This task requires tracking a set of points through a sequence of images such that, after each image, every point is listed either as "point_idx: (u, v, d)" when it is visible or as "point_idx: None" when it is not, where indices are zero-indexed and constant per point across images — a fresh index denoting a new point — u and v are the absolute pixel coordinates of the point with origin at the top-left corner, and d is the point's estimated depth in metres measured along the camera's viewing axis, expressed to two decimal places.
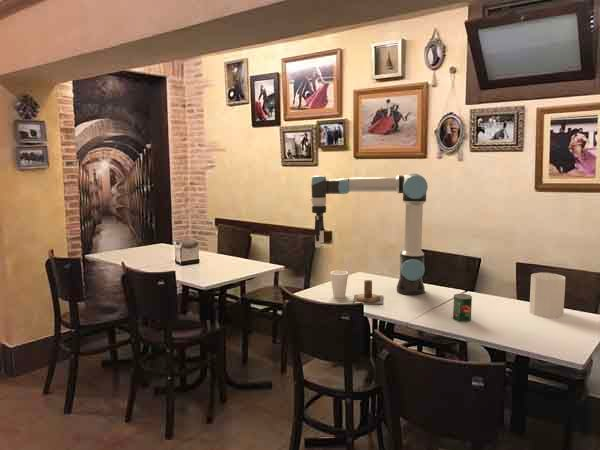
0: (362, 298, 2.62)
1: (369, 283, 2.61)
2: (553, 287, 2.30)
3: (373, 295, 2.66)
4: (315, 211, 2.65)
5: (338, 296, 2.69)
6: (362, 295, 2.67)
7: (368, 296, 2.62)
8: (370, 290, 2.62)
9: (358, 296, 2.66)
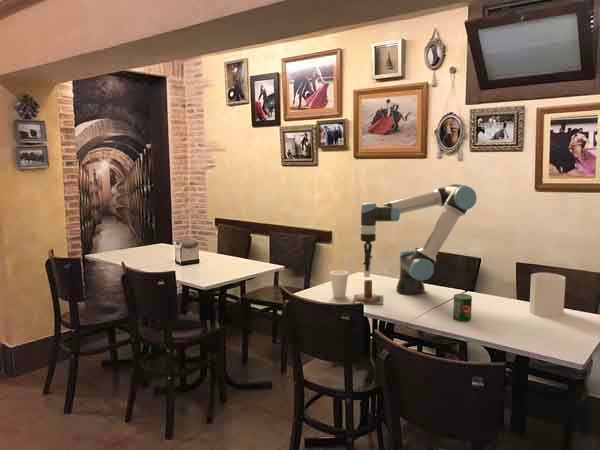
0: (362, 298, 2.62)
1: (369, 283, 2.61)
2: (553, 287, 2.30)
3: (373, 295, 2.66)
4: (365, 239, 2.57)
5: (338, 296, 2.69)
6: (362, 295, 2.67)
7: (368, 296, 2.62)
8: (370, 290, 2.62)
9: (358, 296, 2.66)
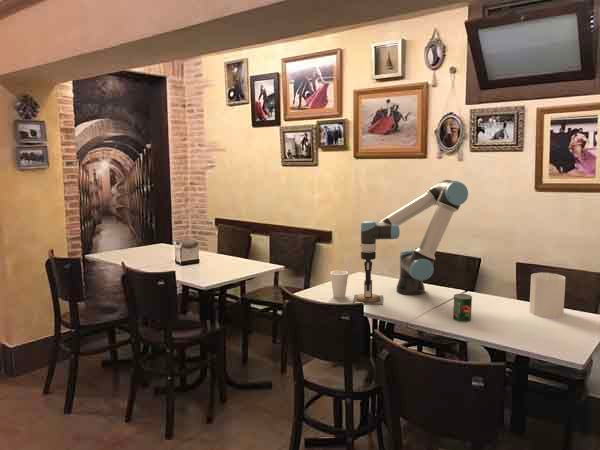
0: (362, 298, 2.62)
1: None
2: (553, 287, 2.30)
3: (373, 295, 2.66)
4: (365, 258, 2.58)
5: (338, 296, 2.69)
6: (362, 295, 2.67)
7: None
8: None
9: (358, 296, 2.66)
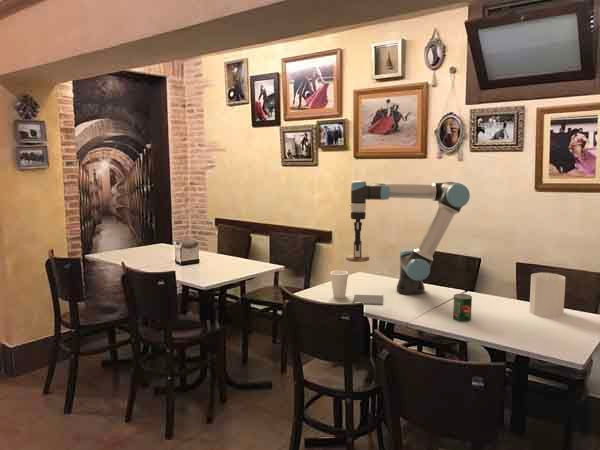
0: (351, 258, 2.61)
1: None
2: (553, 287, 2.30)
3: (362, 256, 2.66)
4: (355, 217, 2.58)
5: (338, 296, 2.69)
6: (351, 256, 2.66)
7: None
8: None
9: (347, 256, 2.65)
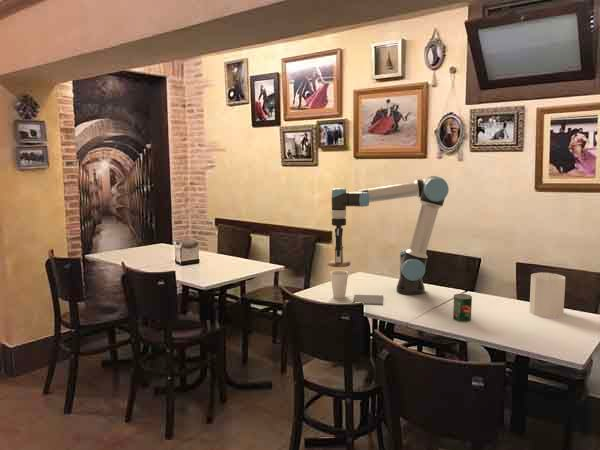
0: (333, 263, 2.67)
1: None
2: (553, 287, 2.30)
3: (344, 261, 2.72)
4: (335, 224, 2.64)
5: (338, 296, 2.69)
6: (333, 261, 2.72)
7: None
8: (341, 256, 2.68)
9: (329, 261, 2.71)
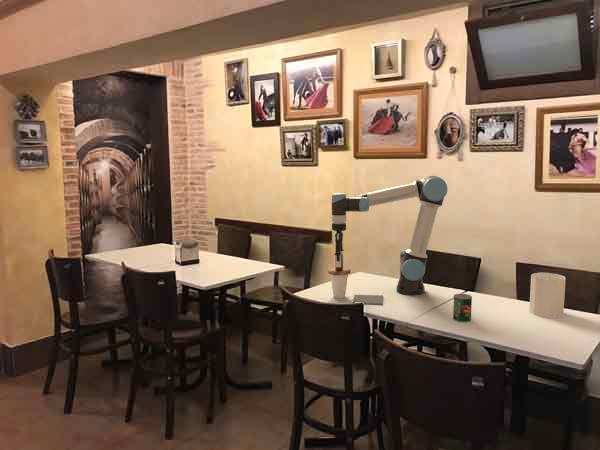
0: (333, 271, 2.68)
1: None
2: (553, 287, 2.30)
3: (344, 269, 2.73)
4: (335, 229, 2.64)
5: (338, 296, 2.69)
6: (333, 269, 2.73)
7: (339, 269, 2.68)
8: (341, 264, 2.68)
9: (329, 269, 2.72)
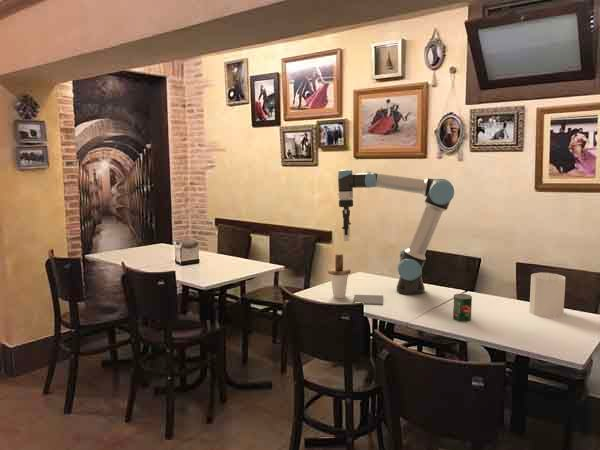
0: (333, 271, 2.68)
1: (340, 257, 2.67)
2: (553, 287, 2.30)
3: (344, 269, 2.73)
4: (342, 205, 2.65)
5: (338, 296, 2.69)
6: (334, 269, 2.73)
7: (339, 269, 2.68)
8: (341, 264, 2.68)
9: (330, 269, 2.72)
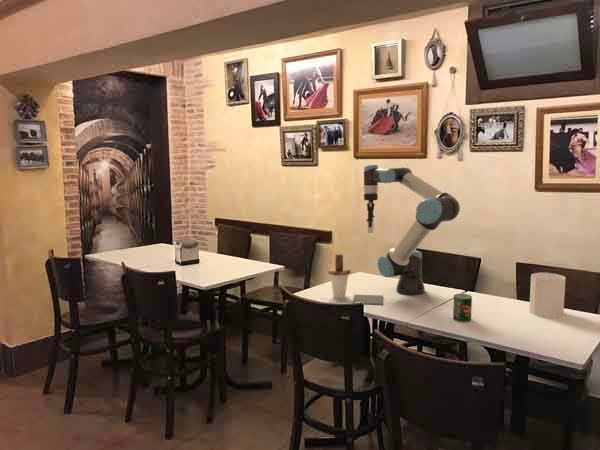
0: (333, 271, 2.68)
1: (340, 257, 2.67)
2: (553, 287, 2.30)
3: (344, 269, 2.73)
4: (367, 198, 2.77)
5: (338, 296, 2.69)
6: (333, 269, 2.73)
7: (339, 269, 2.68)
8: (341, 264, 2.68)
9: (329, 269, 2.72)
